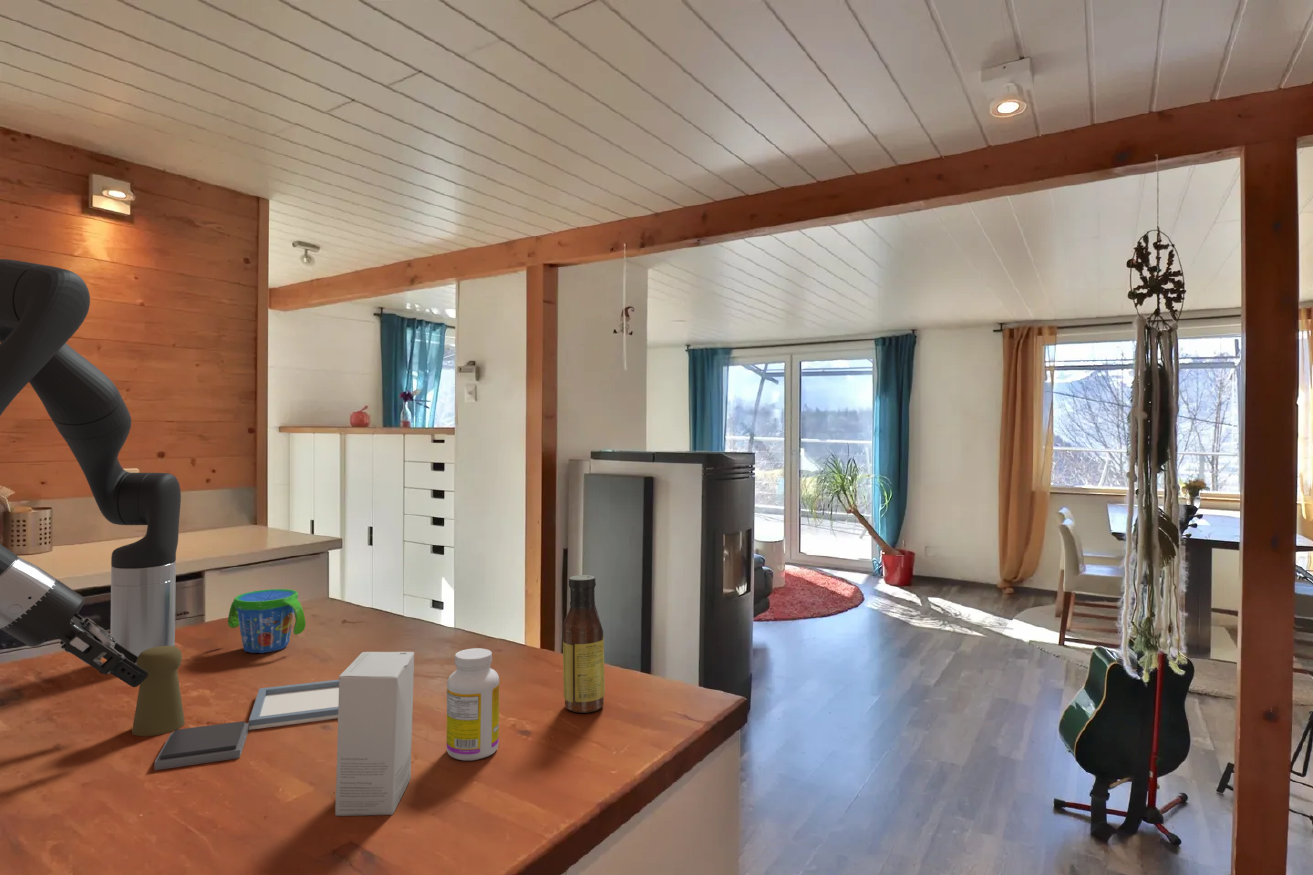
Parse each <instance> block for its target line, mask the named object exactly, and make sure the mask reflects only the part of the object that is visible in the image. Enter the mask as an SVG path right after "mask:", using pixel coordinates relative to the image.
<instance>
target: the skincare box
mask: <svg viewBox="0 0 1313 875" xmlns="http://www.w3.org/2000/svg"><path fill="white" fill-rule="evenodd" d="M414 669H415V652H414V651H363V652H362V651H361V653H360V654H359V655H358V656H357V657H356V658H355V659H354V660H353V661H352V662H351V663H350V664H349V665H348V667H347V668H346V669H345V670H344V671H343V672H342V673H341V674H339V676H338V680H339V705H338V718H337V738H336V740H337V742H336V744H337V745H336V775H335V776H336V777H335V782H336V783H335V805H334V806H335V807H334V808H335V809H334V810H335V813H334V814H335V816H336V817H348V816H349V817H350V816H351V817H352V816H353V817H354V816H385V815H386V816H388V815H390V816H391V815H394V813H395V812H396V809H397V808H398V805H399V803H400V802H401V799H402V798H403V795H404V793H405V791H406V789H407V787H408V785H409V783H410V781H411V779H412V778H411V777H412V774H411V773H412V770H411V769H412V738H413V737H412V736H413V734H412V733H413V707H414V706H413V705H414V704H413V702H414V700H413V699H414V673H415V671H414Z"/></svg>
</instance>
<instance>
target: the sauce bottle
mask: <svg viewBox="0 0 1313 875" xmlns="http://www.w3.org/2000/svg"><path fill="white" fill-rule="evenodd" d="M568 586H569V589H570V591H569V592H570V596H569V597H570V598H569V599H570V601H569V606H570V607H569V611H568V613H567V614H566V616H565V618H564V621H563V622H562V623H563V624H562V626H563V627H562V628H563V631H562V632H563V639H562V668H563V670H562V671H563V672H562V676H563V677H562V678H563V698H564V707H565V709H566V710H569V711H572V712H573V713H578V714H579V713H580V714H581V713H582V714H584V713H585V714H588V713H592V712H593V713H594V712H597V711H598V710H600V709H601V708H603V706H604V704H605V702H604V700H605V699H604V698H605V697H604V696H605V694H606V692H605V691H606V689H605V686H606V685H605V683H606V682H605V646H604V645H605V642H604V641H605V640H604V637H605V636H604V635H605V634H604V629H603V627H602V623H601V620H600V616H599V614H598V610H597V605H596V599H595V598H596V597H595V596H596V595H595V588H596V577H595V576H593V575H589V574H580V575H579V574H576V575H572V576H570V577H569V578H568Z"/></svg>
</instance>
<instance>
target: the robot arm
mask: <svg viewBox="0 0 1313 875" xmlns="http://www.w3.org/2000/svg"><path fill="white" fill-rule="evenodd" d="M90 306H91V295H90V290H89V288H88V286H87V283H86V282H85V281H84V279H82V277H81V276H79V274H77V273H75V272H74V271H71V270H69V269H65V268H62V267H58V266H52V265H45V264H40V263H36V262H35V263H34V262H28V261H21V260H15V259H10V258H9V259H7V258H5V259H4V258H0V417H1V416H2V414H3V413H4V411H6V408H8V406H9V405H10V404H11V403H12V402H13V400H14V399H15V398H16V397H17V395H18V394H19V393H20V392H21V391H22V390H23V389H24V388H25V387H26V386H27V384H29V385H30V386H31V387H32V390H34V392H35V393H36V395H37V397H38V398H39V399H40V401H41V403H42V404H43V407H44V409H45V411H46V412H47V414H48V416H49V417H50V419H51V421H52V422H53V424H54V426H55V427H56V429H57V431H58V432H59V434H60V435H61V437H62V439H64V441H65V443H66V444H67V445H68V447H69V449H70V451H71V452H72V454H73V456H74V458H75V459H76V461H77V463H78V465H79V467H80V469H81V471H82V473H83V475H84V476H85V479H86V481H87V484H88V486H89V489H90V491H91V494H92V496H93V498H94V501H95V503H96V505H97V506H98V509H99V511H100V513H101V514H102V516H103V518H105V519H106V520H107V521H108V522H109V523H111V524H114V525H119V526H147V528H146V533H145V535H144V536H143V537H141V539H138V540H137V541H135V542H132V543H129V544H128V543H127V544H125V545H121V546H119V547H117V548H115V549H113V551H112V552H111V557H110V559H111V561H110V562H111V563H110V564H111V565H110V566H111V567H110V568H111V569H110V632H108V631H107V630H105V629H104V627H101V625H100V626H99V625H98V624H97V623H96V622H95V621H94V620H92V619H90V617H87V616H86V617H85V618H84V617H83V616H82V615H80V614H79V612H80V611H81V609H82V608H83V606H84V605H85V601H86V600H85V597H84V596H83V595H81V594H80V593H78V592H77V591H75V590H74V589H72V588H71V587H69V586H68V585H66V584H65V583H64V582H61V580H59V579H57V578H56V577H54V576H52V575H51V574H50V573H48V572H47V571H45V570H44V569H43V568H41V567H39V566H37V565H36V564H34V563H33V562H30V561H29V560H26V559H24V558H22V557H21V556H18V554H16V553H15V552H13V551H11V550H10V549H8V548H7V547H6V546H4V545H3V544H1V543H0V630H1V631H3V632H5V633H6V634H8V635H10V636H12V638H15V639H17V640H18V641H20V642H21V643H23V644H25V645H26V646H28V647H31V648H33V647H38V646H40V645H42V644H44V643H45V642H47V641H48V640H49V639H50V638H53V637H55V638H58V640H60V641H58V643H59V644H60V645H61V646H60V648H61V649H63V651H65V652H66V653H68V654H71V655H73V656H75V657H76V658H77V659H79V660H80V661H82V662H83V663H85V664H86V665H89V666H91V667H92V668H94V669H95V670H97V671H99V673H100V674H101V675H105V676H106V675H107V674H111V675H113V676H114V677H116V678H117V679H119V680H120V681H122V682H124V683H126V684H127V685H129V686H130V687H132V688H137V687H139V686H140V684H141V683H142V682H143V681H144V680H145V679H146V678H147V676H148V673H147V671H145V670H144V669H142V668H141V667H139V666H138V665H136V662H137V658H138V656H139V655H140V653H141V652H143V651H144V650H146V649H149V648H153V647H158V646H175V647H176V644H175V643H176V642H175V641H176V640H175V638H176V637H175V635H176V577H177V576H176V572H177V570H176V569H177V568H176V567H177V565H176V564H177V563H176V562H177V561H176V560H177V549H178V544H179V528H180V515H181V502H182V501H181V498H182V495H181V493H182V492H181V490H182V489H181V486H180V482H179V480H178V478H177V477H176V476H175V475H174V474H172V473H168V472H129V471H127V470H125V469H124V468H123V467H122V465H121V464H120V462H119V458H118V457H119V454H120V451H121V450H122V448H123V446H124V445H125V443H126V440H127V439H128V437H129V433H130V432H131V429H132V417H131V413H130V411H129V409H128V407H127V405H126V403H125V401H124V399H123V397H122V395H121V393H120V390H118V388H117V386H116V384H115V383H114V382H113V381H112V380H111V379H110V378H109V377H108V376H107V375H106V374H105V373H103V371H101V370H100V369H99V368H98V367H97V366H96V365H94V364H93V363H92V362H90V361H89V359H86V358H85V357H84V356H82V354H80V353H78V351H76V350H75V349H74V348H72V347H71V346H70V344H69V345H68V344H67V342H68V341H69V340H70V339H71V338H72V337H73V335H75V333H76V332H77V331H78V330H79V328H80V327H81V326H82V325H83V323H84V321H85V320H86V318H87V315H88V313H89V310H90ZM102 658H103V659H105V660H106V661H104V662H102V661H101V660H102Z"/></svg>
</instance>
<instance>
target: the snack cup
mask: <svg viewBox="0 0 1313 875" xmlns="http://www.w3.org/2000/svg"><path fill="white" fill-rule="evenodd" d="M298 597H299V593H298V591H296V590H295V589H294V590H293V589H289V588H273V589H272V588H270V589H261V590H260V589H259V590H253V591H248V592H245V593H241V594H239V595H236V596H235V597H234V599H233V601H232V603H231V605H230V609H229V612H228V617H227V618H228V619H227V624H228V627H229V628H231V629H234V628H238V627H239V632H240V637H241V643H242V647H243V651H244V652H248V653H251V654H264V653H265V654H266V653H271V652H276V651H280V650H284V648H286V647H287V646H288V645H289V643H290V638H291V634H292V633H291V632H292V627H293V634H294V635H300V634H301V633H303V632H304V630H305V628H306V616H305V613H304V610H303V606H302V603H301V602H300V601H299V599H298ZM294 618H295V622H294V621H293V620H294ZM293 622H294V626H293Z"/></svg>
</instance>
